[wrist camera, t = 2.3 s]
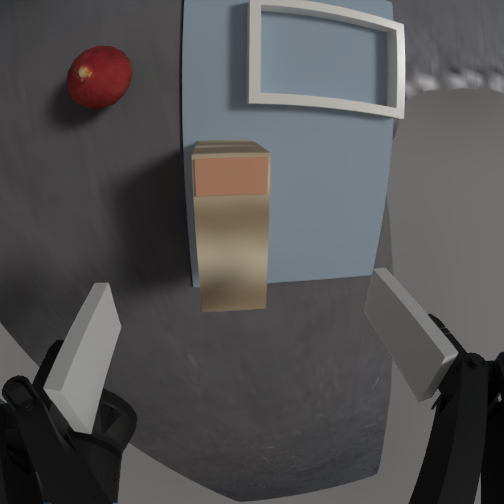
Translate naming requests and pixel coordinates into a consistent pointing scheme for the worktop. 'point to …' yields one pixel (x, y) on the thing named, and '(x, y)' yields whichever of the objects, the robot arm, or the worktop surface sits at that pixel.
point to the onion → (99, 77)
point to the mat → (296, 128)
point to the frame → (295, 3)
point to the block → (231, 223)
